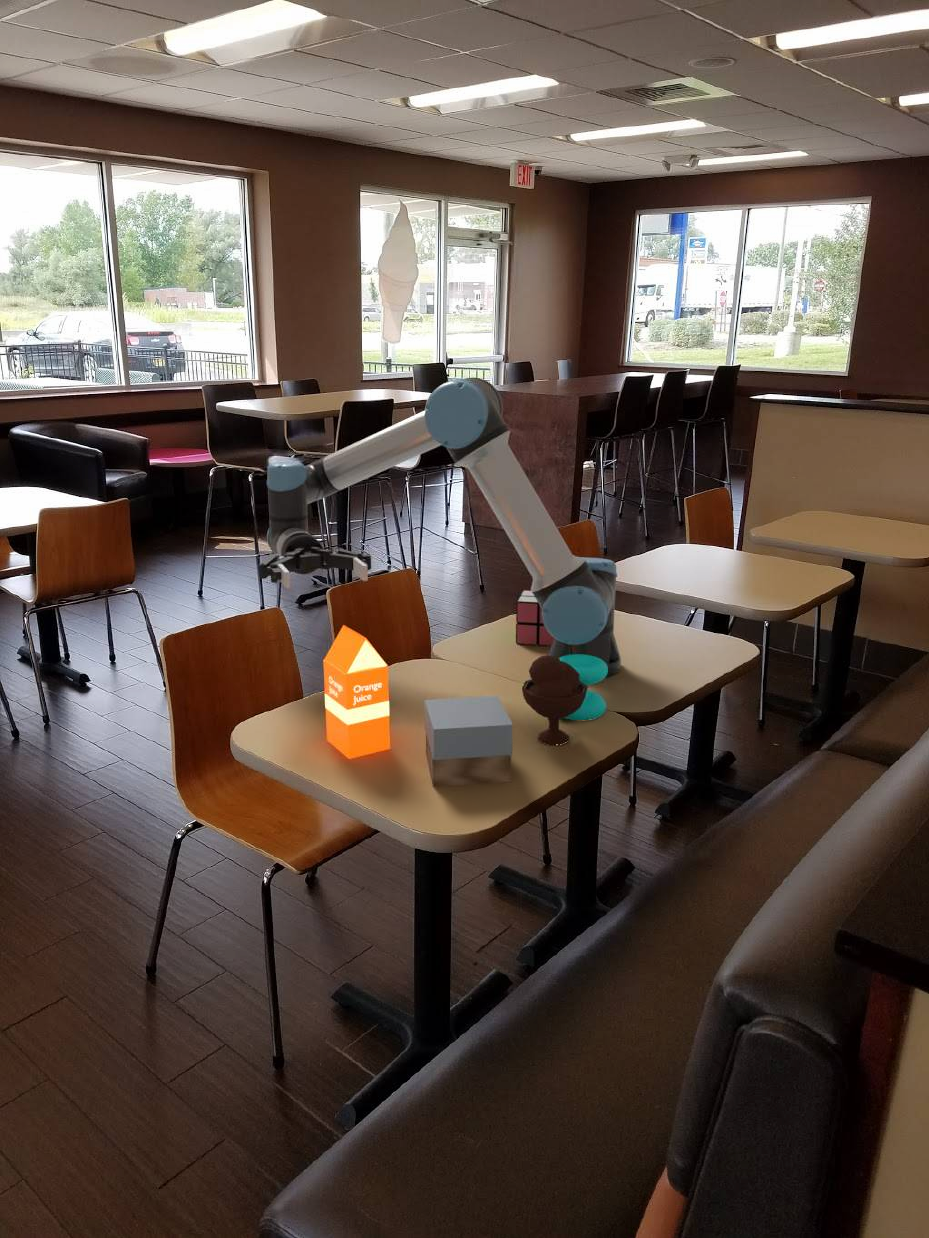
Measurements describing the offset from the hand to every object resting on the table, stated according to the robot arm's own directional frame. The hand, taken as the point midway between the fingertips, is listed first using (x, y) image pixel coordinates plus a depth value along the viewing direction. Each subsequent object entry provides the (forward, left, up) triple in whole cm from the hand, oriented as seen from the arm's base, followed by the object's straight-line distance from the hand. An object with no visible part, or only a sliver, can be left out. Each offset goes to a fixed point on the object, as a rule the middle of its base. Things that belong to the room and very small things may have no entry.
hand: (327, 576), depth 159 cm
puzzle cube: (-46, -41, -27) cm, 67 cm away
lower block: (-21, +23, -27) cm, 41 cm away
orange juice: (-4, +12, -26) cm, 29 cm away
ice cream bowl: (-37, +14, -26) cm, 48 cm away
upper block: (-21, +23, -22) cm, 38 cm away
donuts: (-44, +3, -26) cm, 52 cm away
